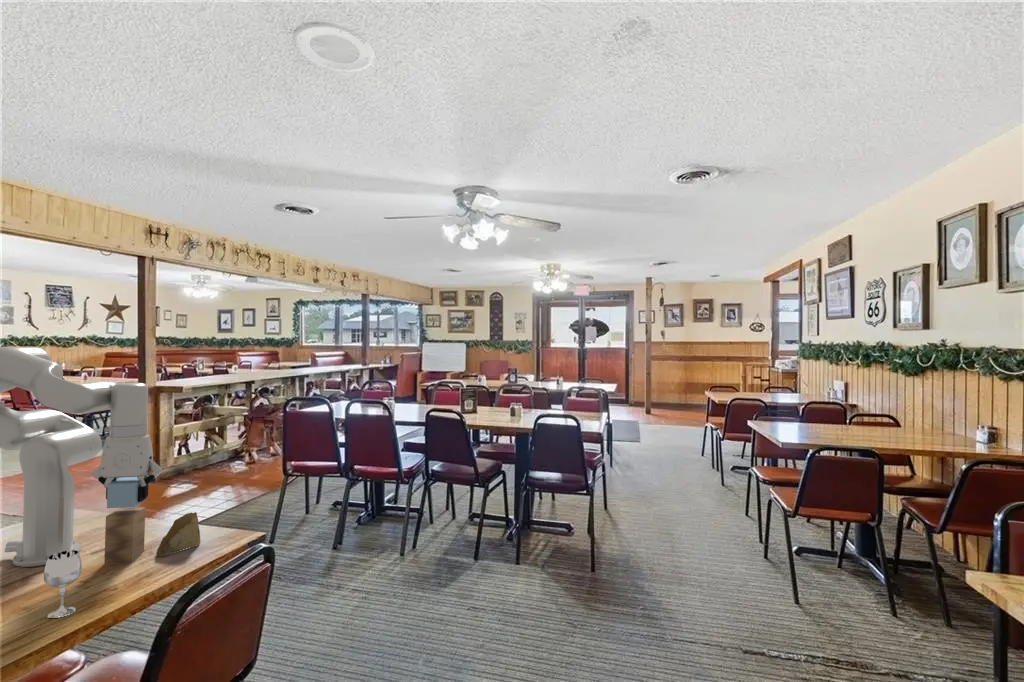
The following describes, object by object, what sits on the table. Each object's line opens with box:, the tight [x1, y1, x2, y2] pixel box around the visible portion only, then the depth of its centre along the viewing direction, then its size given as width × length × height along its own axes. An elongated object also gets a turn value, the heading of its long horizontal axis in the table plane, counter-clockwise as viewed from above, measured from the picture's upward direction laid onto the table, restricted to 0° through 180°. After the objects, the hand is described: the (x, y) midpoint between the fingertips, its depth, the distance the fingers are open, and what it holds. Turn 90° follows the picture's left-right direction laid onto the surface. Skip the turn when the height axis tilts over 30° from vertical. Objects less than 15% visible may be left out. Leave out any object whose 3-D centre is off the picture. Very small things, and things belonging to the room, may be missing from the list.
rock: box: [155, 511, 201, 558], centre depth 132 cm, size 11×9×10 cm
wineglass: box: [43, 550, 83, 618], centre depth 101 cm, size 6×6×12 cm
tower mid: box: [104, 506, 146, 541], centre depth 126 cm, size 6×6×6 cm
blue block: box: [106, 477, 147, 509], centre depth 126 cm, size 6×6×6 cm
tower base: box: [104, 530, 146, 565], centre depth 126 cm, size 6×6×6 cm
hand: (127, 500), depth 126 cm, fingers closed on blue block, 6 cm apart
